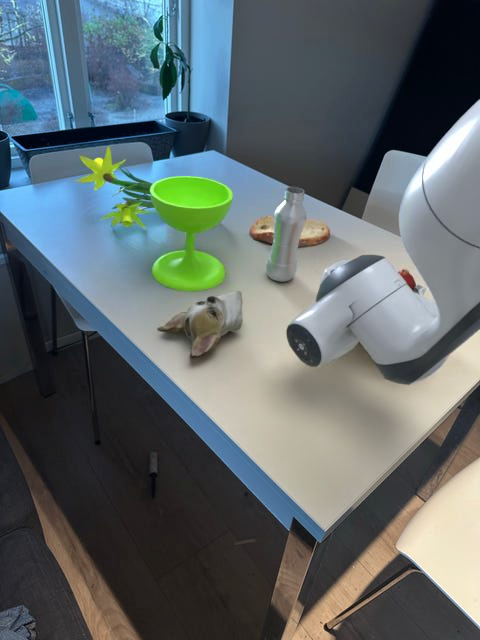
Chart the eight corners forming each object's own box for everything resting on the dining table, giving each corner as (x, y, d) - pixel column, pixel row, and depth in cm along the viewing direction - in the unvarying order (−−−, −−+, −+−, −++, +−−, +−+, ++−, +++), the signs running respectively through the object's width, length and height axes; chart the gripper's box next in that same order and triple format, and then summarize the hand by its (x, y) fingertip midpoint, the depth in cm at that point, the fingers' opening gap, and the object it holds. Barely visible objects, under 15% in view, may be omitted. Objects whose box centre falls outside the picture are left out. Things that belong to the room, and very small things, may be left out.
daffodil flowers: (225, 229, 117) (97, 219, 94) (192, 237, 128) (70, 229, 105) (221, 164, 116) (91, 137, 93) (189, 177, 127) (65, 156, 104)
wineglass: (193, 246, 106) (197, 171, 95) (240, 275, 98) (250, 197, 87) (136, 265, 97) (133, 185, 86) (183, 300, 88) (185, 215, 77)
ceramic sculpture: (262, 297, 76) (191, 333, 68) (258, 335, 81) (192, 373, 73) (221, 270, 82) (152, 300, 74) (220, 307, 87) (156, 339, 79)
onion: (387, 293, 87) (400, 257, 82) (413, 307, 84) (429, 270, 79) (371, 303, 83) (384, 266, 79) (398, 318, 80) (413, 281, 75)
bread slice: (334, 233, 119) (337, 220, 117) (307, 259, 107) (310, 245, 104) (275, 213, 126) (277, 201, 124) (243, 235, 113) (244, 222, 111)
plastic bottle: (300, 279, 99) (319, 193, 87) (278, 288, 95) (295, 199, 83) (280, 266, 103) (295, 181, 91) (258, 274, 99) (271, 187, 87)
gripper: (427, 323, 65) (465, 292, 74) (317, 264, 76) (361, 243, 85) (413, 355, 69) (450, 322, 78) (310, 295, 80) (353, 272, 88)
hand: (403, 281), depth 81 cm, fingers closed on onion, 5 cm apart
